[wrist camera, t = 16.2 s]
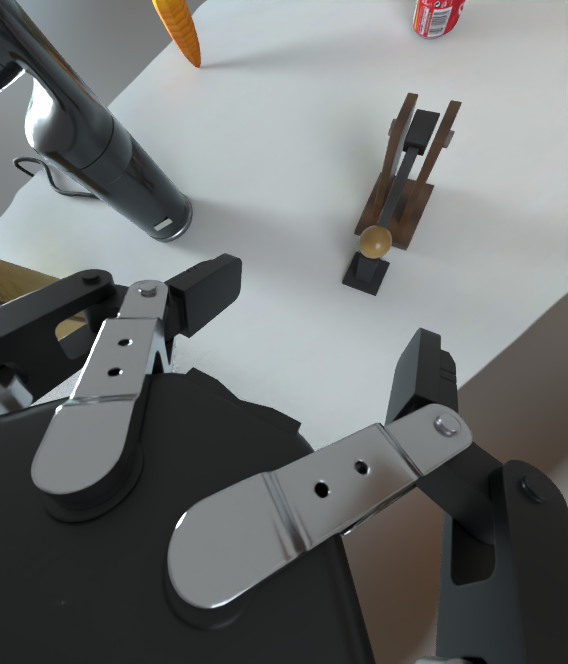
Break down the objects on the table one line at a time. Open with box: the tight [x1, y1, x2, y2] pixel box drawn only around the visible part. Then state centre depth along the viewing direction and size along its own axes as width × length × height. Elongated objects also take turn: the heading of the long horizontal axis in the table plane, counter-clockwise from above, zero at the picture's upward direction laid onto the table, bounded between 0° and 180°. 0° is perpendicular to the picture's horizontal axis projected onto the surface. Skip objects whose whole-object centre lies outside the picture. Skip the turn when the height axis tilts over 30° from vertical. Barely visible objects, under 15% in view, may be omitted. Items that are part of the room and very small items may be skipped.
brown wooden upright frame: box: [354, 93, 462, 250], centre depth 33 cm, size 10×8×16 cm
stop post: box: [342, 252, 390, 296], centre depth 36 cm, size 5×5×8 cm
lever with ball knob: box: [358, 109, 440, 259], centre depth 29 cm, size 14×4×4 cm, turn 155°
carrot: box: [152, 0, 201, 68], centre depth 45 cm, size 5×5×15 cm
